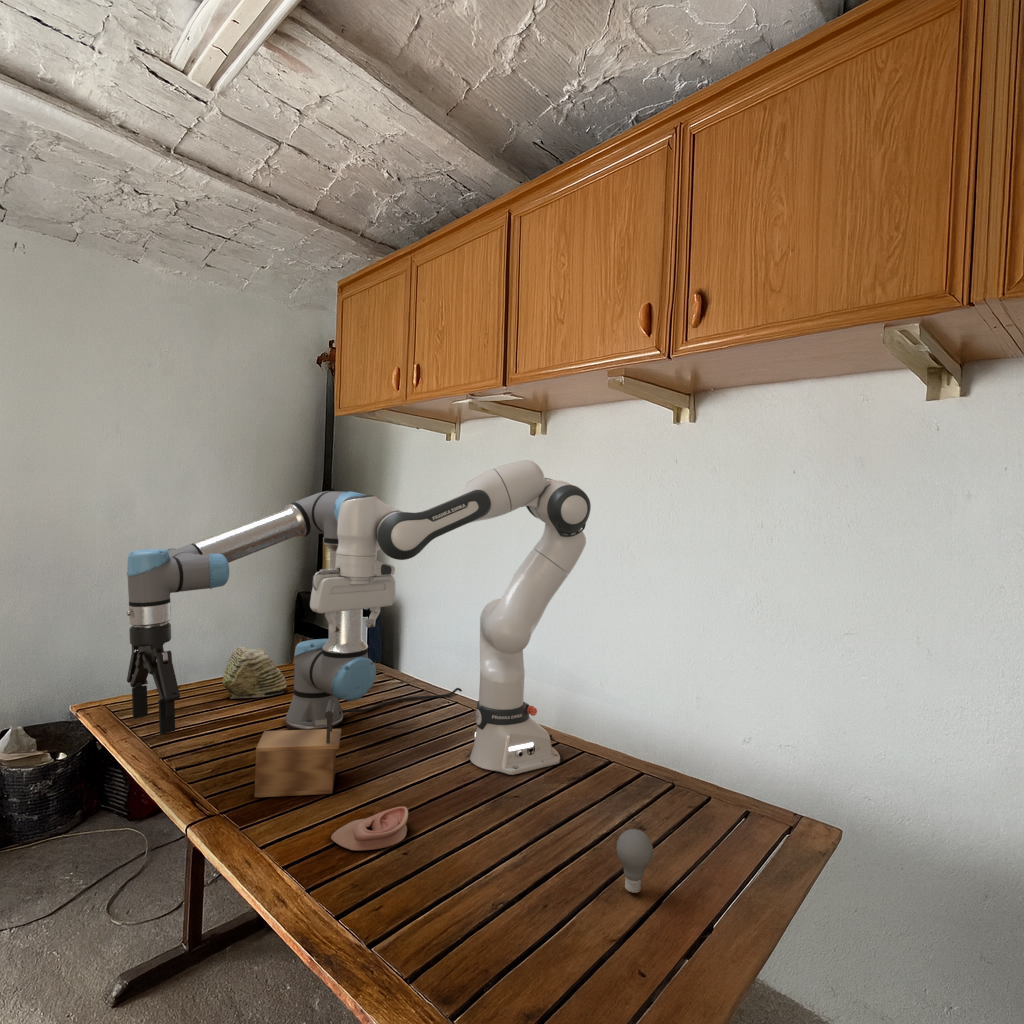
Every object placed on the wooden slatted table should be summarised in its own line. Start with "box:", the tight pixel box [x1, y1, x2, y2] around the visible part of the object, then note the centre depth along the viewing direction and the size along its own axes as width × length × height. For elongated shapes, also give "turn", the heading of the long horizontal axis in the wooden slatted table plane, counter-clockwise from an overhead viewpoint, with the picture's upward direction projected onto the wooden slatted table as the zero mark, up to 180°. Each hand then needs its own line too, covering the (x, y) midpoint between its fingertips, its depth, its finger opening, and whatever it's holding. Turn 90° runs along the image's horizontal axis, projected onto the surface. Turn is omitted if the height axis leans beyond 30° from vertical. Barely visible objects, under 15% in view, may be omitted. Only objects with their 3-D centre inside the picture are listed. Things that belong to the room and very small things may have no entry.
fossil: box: [222, 646, 288, 699], centre depth 198 cm, size 9×18×15 cm, turn 132°
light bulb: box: [615, 828, 654, 894], centre depth 106 cm, size 6×6×10 cm
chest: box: [253, 749, 337, 798], centre depth 138 cm, size 16×10×10 cm, turn 102°
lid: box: [255, 699, 342, 753], centre depth 138 cm, size 17×10×8 cm, turn 102°
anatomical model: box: [330, 805, 409, 852], centre depth 119 cm, size 13×4×12 cm
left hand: (153, 724), depth 132 cm, fingers open, 13 cm apart
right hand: (352, 629), depth 141 cm, fingers open, 8 cm apart
